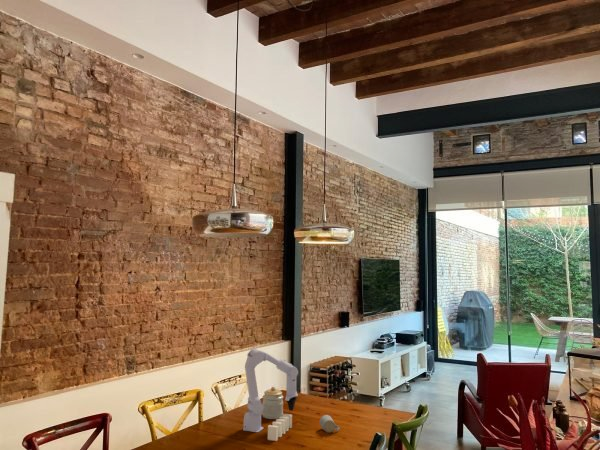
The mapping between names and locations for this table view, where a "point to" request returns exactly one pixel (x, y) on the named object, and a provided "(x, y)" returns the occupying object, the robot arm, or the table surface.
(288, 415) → the tile
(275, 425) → the tile
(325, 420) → the ceramic mug
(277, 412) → the jar
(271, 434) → the tile
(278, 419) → the tile
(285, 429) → the tile
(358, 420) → the table surface
